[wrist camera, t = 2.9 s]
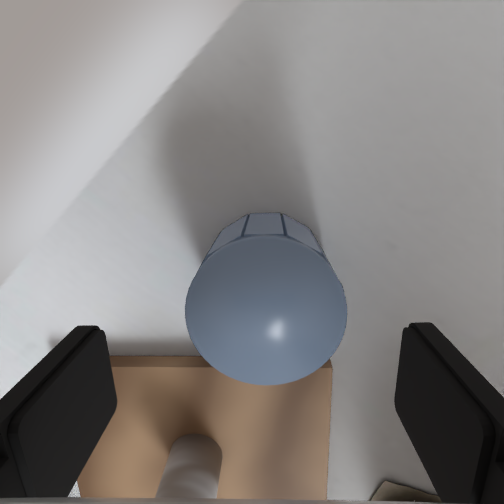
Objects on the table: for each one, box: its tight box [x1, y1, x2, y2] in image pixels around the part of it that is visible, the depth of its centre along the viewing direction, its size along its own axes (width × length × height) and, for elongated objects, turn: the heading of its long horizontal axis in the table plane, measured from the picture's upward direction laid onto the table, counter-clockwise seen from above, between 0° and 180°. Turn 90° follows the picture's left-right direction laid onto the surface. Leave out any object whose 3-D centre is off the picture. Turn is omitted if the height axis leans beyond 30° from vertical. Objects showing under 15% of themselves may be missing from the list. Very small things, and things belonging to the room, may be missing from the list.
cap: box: [185, 213, 347, 385], centre depth 17 cm, size 7×7×6 cm
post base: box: [77, 356, 333, 500], centre depth 21 cm, size 18×14×6 cm
